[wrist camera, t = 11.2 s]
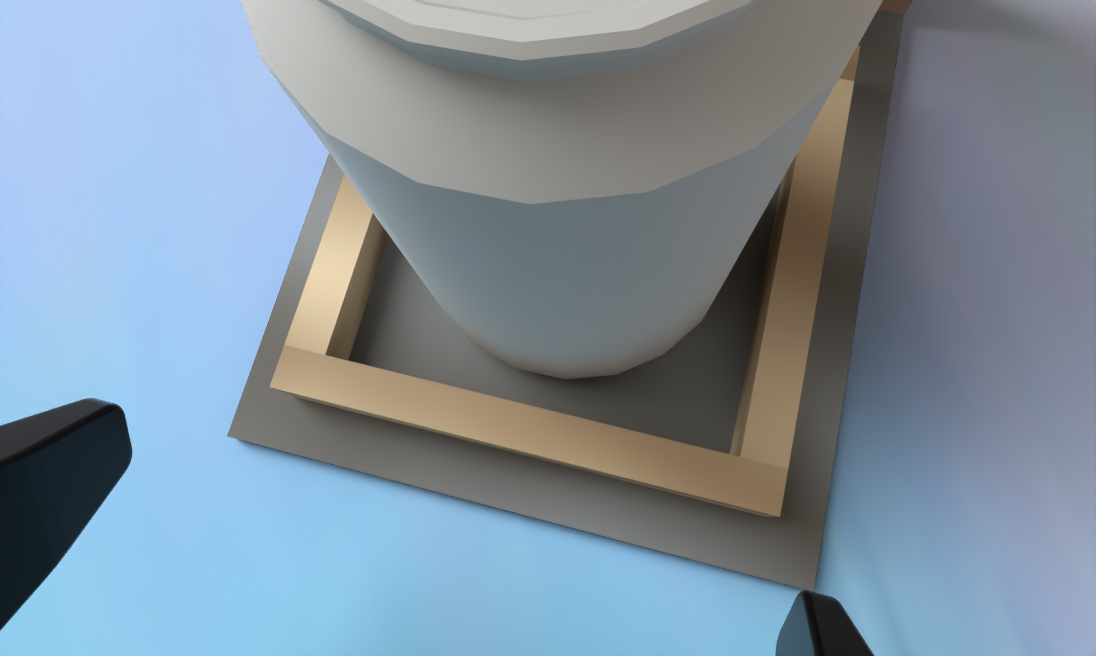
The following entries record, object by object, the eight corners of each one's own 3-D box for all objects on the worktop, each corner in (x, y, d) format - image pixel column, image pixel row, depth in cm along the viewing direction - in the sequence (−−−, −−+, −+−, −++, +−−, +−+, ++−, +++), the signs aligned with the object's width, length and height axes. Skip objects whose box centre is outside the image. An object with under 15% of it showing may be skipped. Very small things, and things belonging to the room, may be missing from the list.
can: (369, 260, 18) (-25, -192, 7) (558, 57, 19) (507, -630, 8) (597, 451, 17) (609, 300, 5) (788, 218, 18) (1155, -342, 6)
